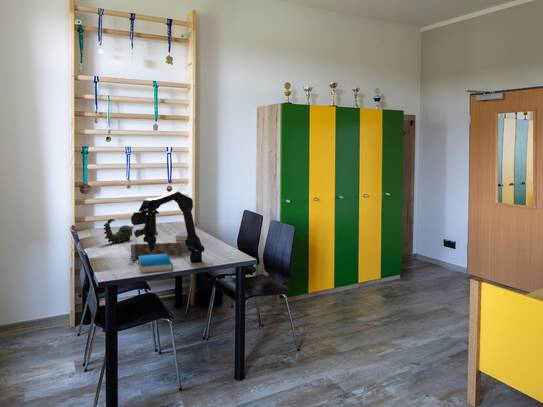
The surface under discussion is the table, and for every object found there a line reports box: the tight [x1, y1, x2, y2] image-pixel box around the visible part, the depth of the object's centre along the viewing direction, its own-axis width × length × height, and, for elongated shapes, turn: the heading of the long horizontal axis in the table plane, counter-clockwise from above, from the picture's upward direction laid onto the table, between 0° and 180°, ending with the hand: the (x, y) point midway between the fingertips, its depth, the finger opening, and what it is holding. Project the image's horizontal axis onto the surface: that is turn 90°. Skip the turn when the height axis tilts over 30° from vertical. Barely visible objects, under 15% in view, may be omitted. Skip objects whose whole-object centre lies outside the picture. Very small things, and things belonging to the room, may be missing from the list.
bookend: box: [131, 240, 138, 262], centre depth 276 cm, size 2×10×10 cm, turn 11°
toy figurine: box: [103, 218, 135, 244], centre depth 327 cm, size 9×19×25 cm
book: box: [137, 254, 174, 273], centre depth 263 cm, size 17×4×25 cm
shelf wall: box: [130, 241, 182, 258], centre depth 285 cm, size 30×2×8 cm, turn 101°
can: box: [174, 231, 191, 254], centre depth 297 cm, size 11×11×12 cm
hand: (151, 251), depth 244 cm, fingers closed
